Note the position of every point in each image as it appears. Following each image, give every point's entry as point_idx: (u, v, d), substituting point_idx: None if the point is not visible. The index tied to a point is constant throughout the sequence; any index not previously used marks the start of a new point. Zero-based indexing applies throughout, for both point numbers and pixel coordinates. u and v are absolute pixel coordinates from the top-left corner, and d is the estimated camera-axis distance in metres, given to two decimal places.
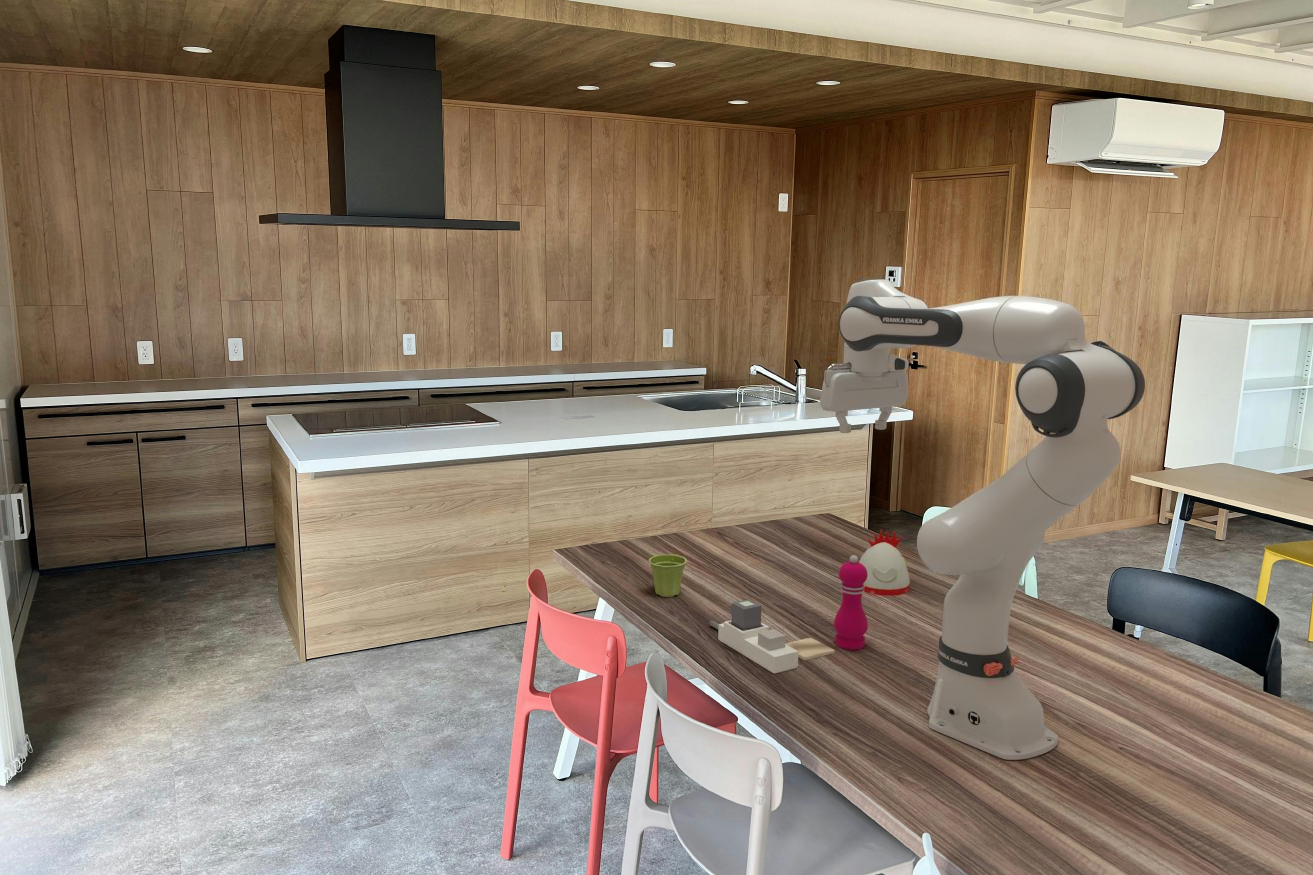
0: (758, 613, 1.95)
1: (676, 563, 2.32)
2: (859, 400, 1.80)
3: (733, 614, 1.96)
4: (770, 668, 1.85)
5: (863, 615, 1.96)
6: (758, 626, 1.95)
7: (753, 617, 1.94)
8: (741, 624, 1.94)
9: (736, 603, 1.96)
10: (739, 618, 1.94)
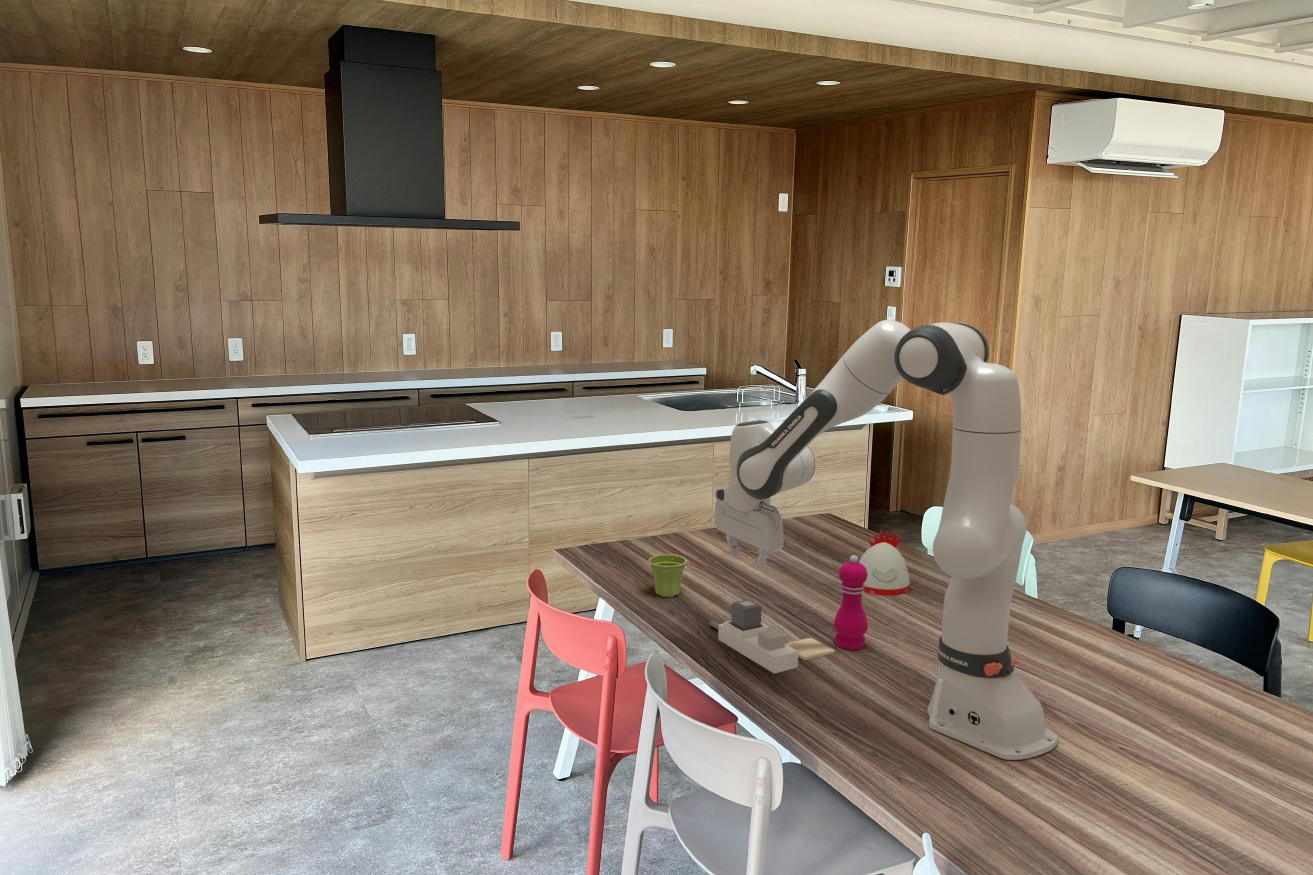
0: (758, 613, 1.95)
1: (676, 563, 2.32)
2: None
3: (733, 614, 1.96)
4: (770, 668, 1.85)
5: (863, 615, 1.96)
6: (758, 626, 1.95)
7: (753, 617, 1.94)
8: (741, 624, 1.94)
9: (736, 603, 1.96)
10: (739, 618, 1.94)
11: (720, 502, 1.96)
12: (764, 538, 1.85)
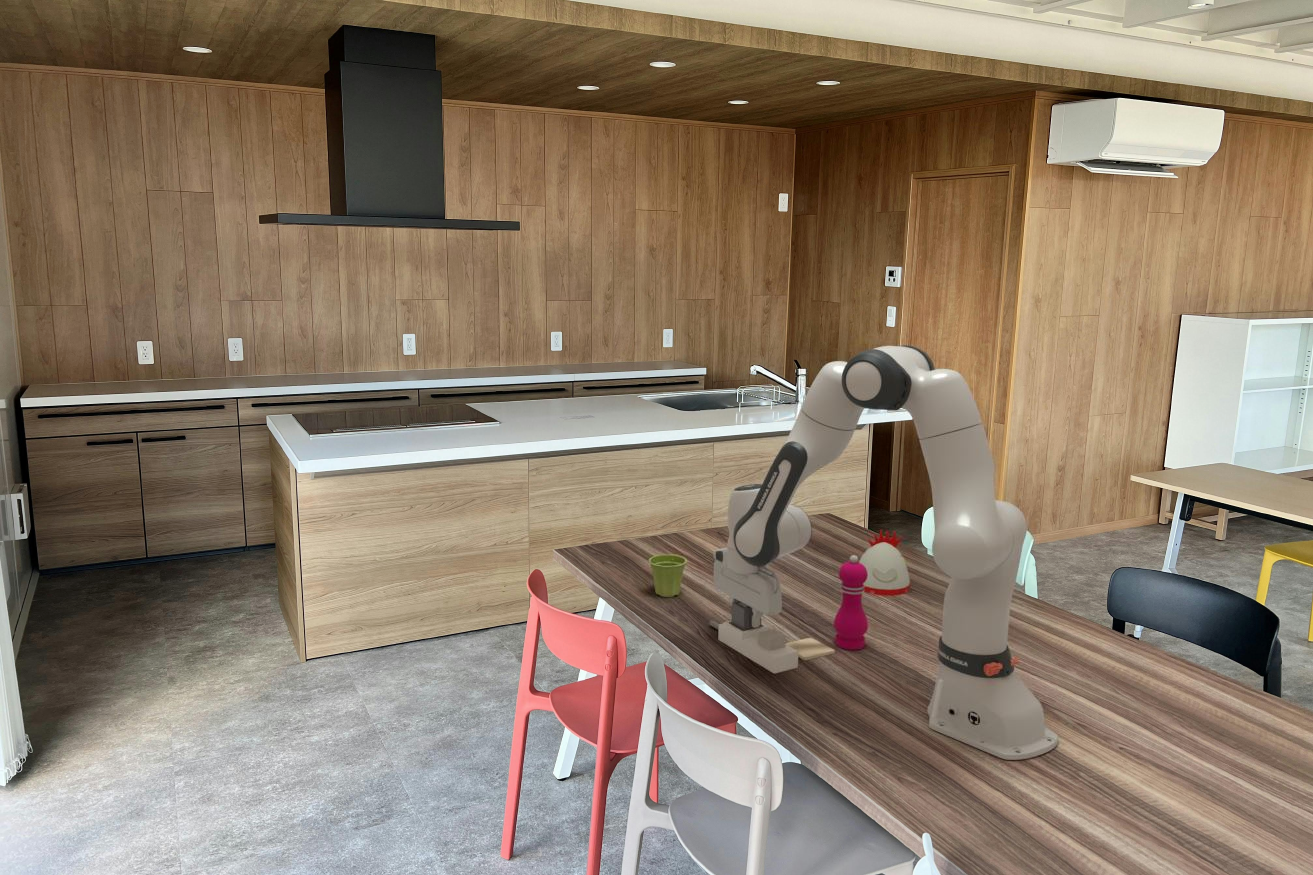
0: None
1: (676, 563, 2.32)
2: None
3: (733, 614, 1.96)
4: (770, 668, 1.85)
5: (863, 615, 1.96)
6: None
7: None
8: (741, 624, 1.94)
9: (736, 603, 1.95)
10: (739, 618, 1.94)
11: (718, 563, 1.99)
12: (762, 602, 1.87)
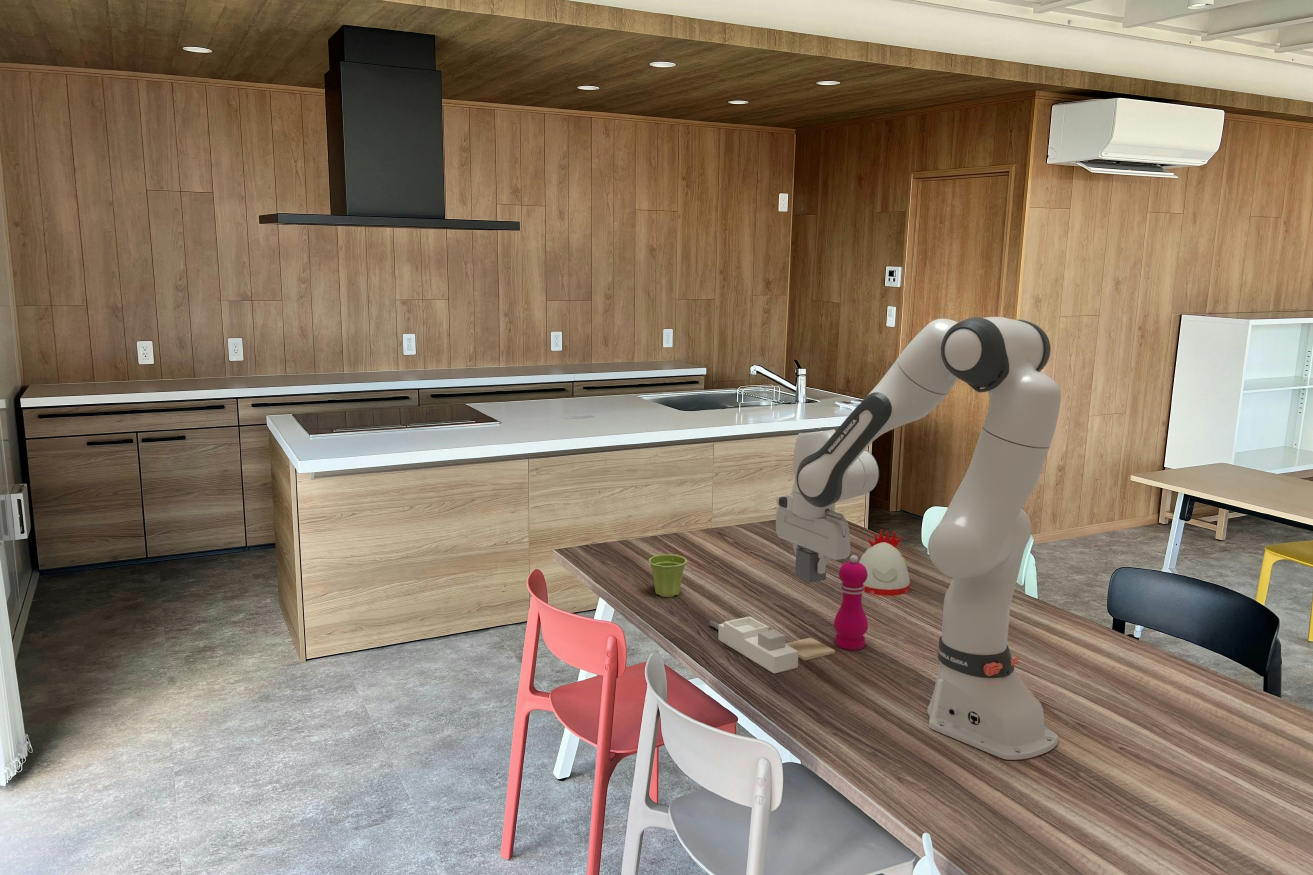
0: None
1: (676, 563, 2.32)
2: None
3: (797, 561, 1.92)
4: (770, 668, 1.85)
5: (863, 615, 1.96)
6: (823, 573, 1.91)
7: None
8: (806, 570, 1.90)
9: (800, 550, 1.92)
10: (804, 564, 1.90)
11: (782, 509, 1.95)
12: (830, 546, 1.83)
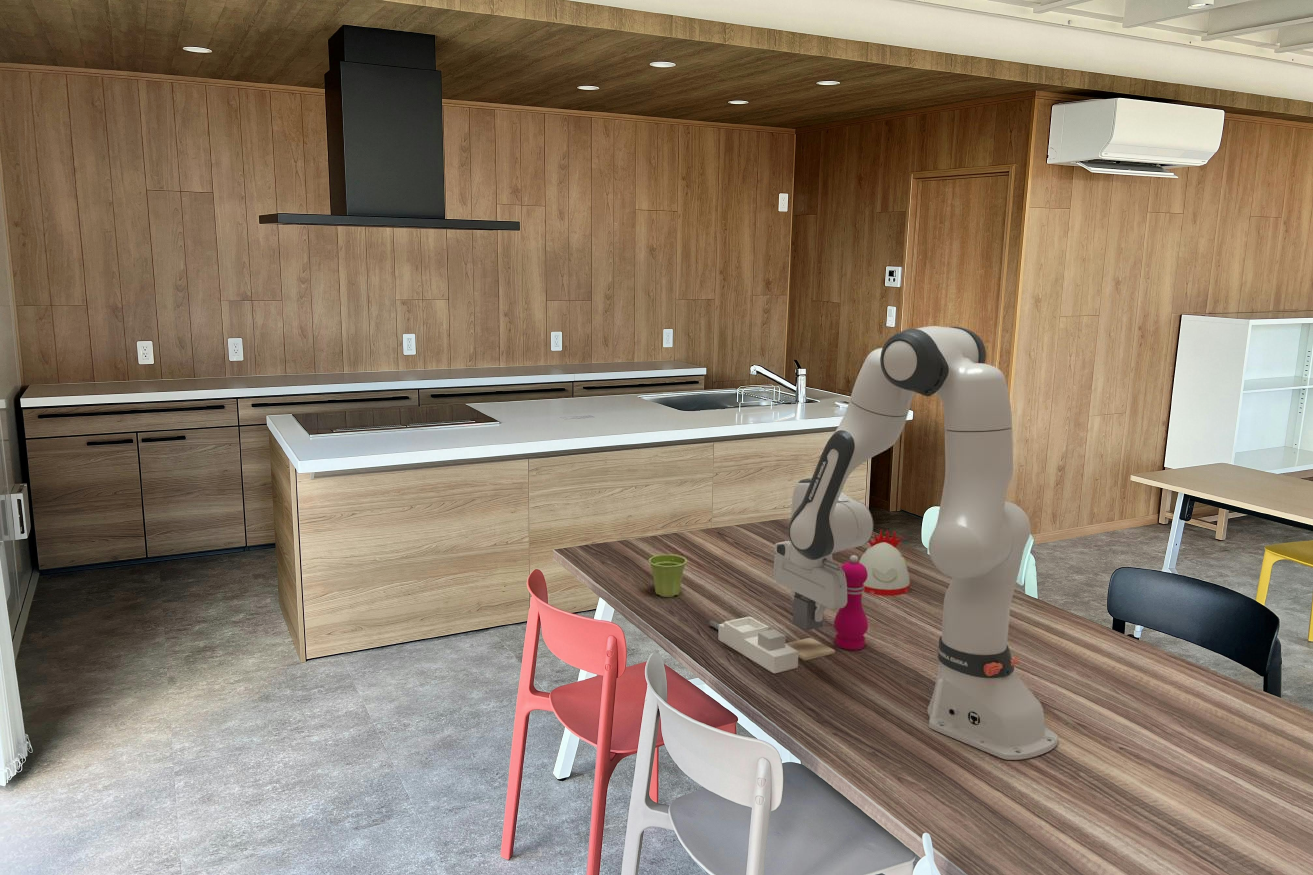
0: None
1: (676, 563, 2.32)
2: None
3: (795, 608, 1.94)
4: (770, 668, 1.85)
5: (863, 615, 1.96)
6: None
7: None
8: (803, 617, 1.92)
9: (798, 597, 1.94)
10: (802, 612, 1.92)
11: (780, 556, 1.97)
12: (827, 596, 1.85)
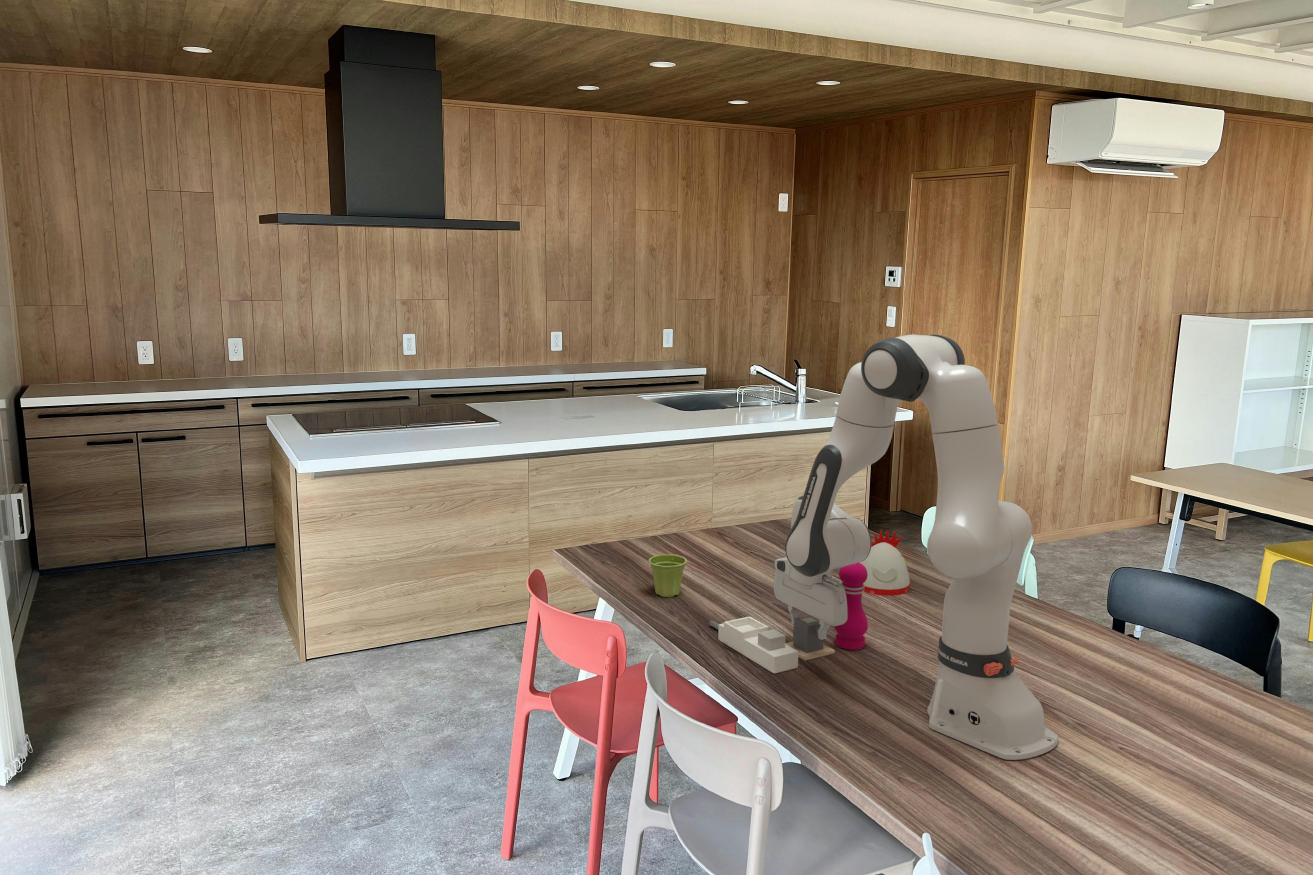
0: None
1: (676, 563, 2.32)
2: None
3: (795, 630, 1.95)
4: (770, 668, 1.85)
5: (863, 615, 1.96)
6: (821, 643, 1.94)
7: None
8: (804, 640, 1.93)
9: (798, 620, 1.94)
10: (802, 635, 1.93)
11: (780, 572, 1.97)
12: (828, 613, 1.86)
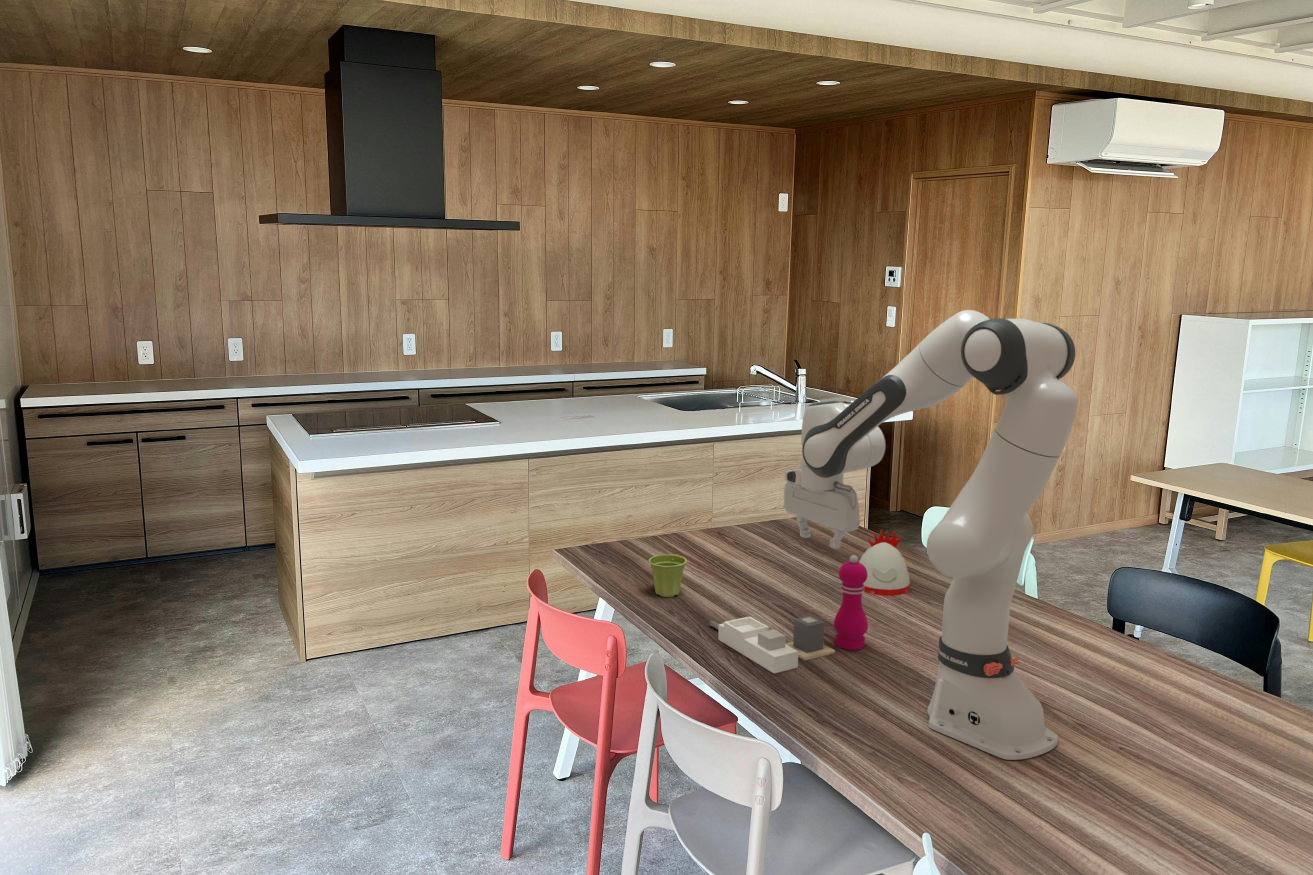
0: (821, 630, 1.93)
1: (676, 563, 2.32)
2: None
3: (795, 630, 1.95)
4: (770, 668, 1.85)
5: (863, 615, 1.96)
6: (821, 643, 1.94)
7: (816, 634, 1.93)
8: (804, 640, 1.93)
9: (798, 620, 1.94)
10: (802, 635, 1.93)
11: (790, 484, 1.96)
12: (840, 518, 1.84)
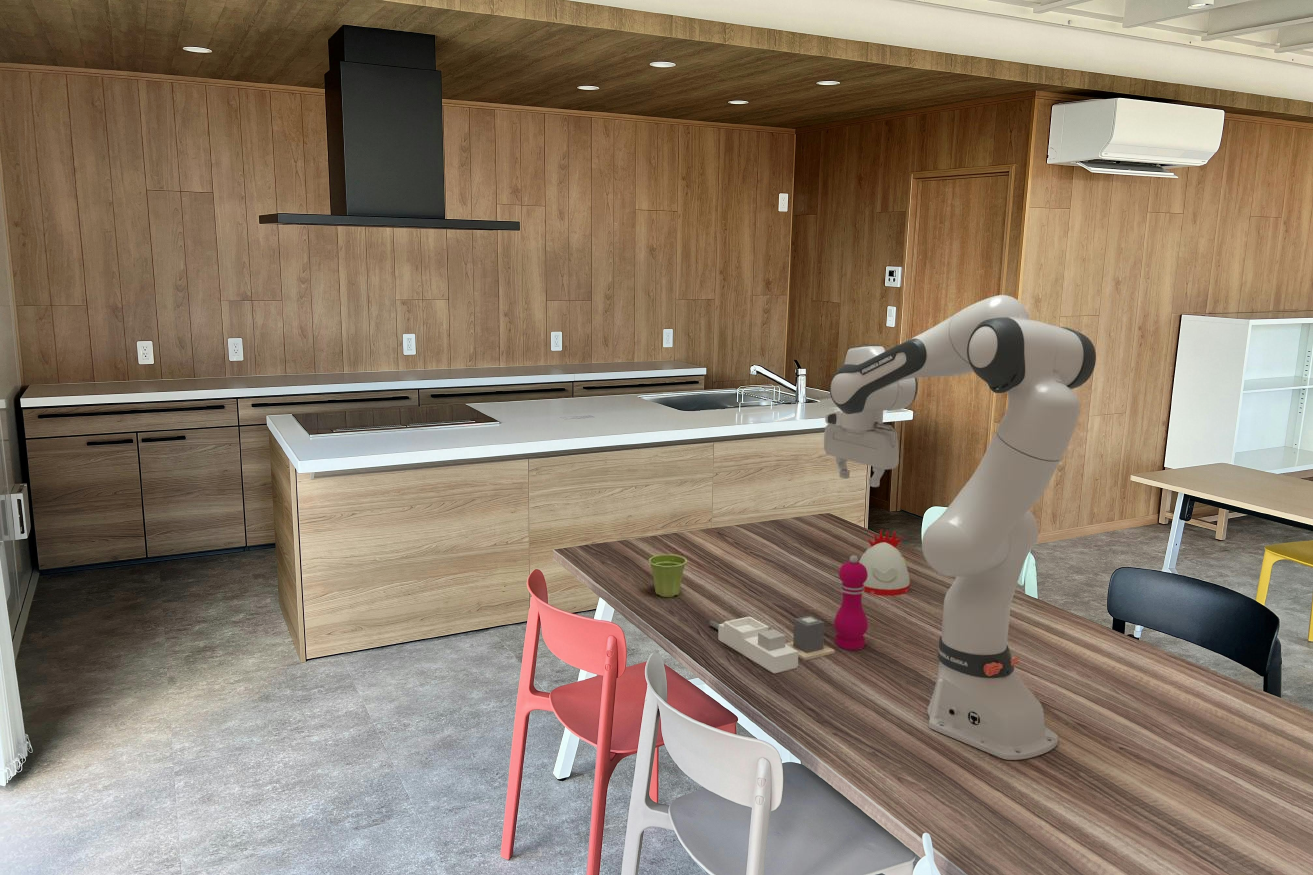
0: (821, 630, 1.93)
1: (676, 563, 2.32)
2: None
3: (795, 630, 1.95)
4: (770, 668, 1.85)
5: (863, 615, 1.96)
6: (821, 643, 1.94)
7: (816, 634, 1.93)
8: (804, 640, 1.93)
9: (798, 620, 1.94)
10: (802, 635, 1.93)
11: (830, 426, 2.03)
12: (880, 457, 1.92)
